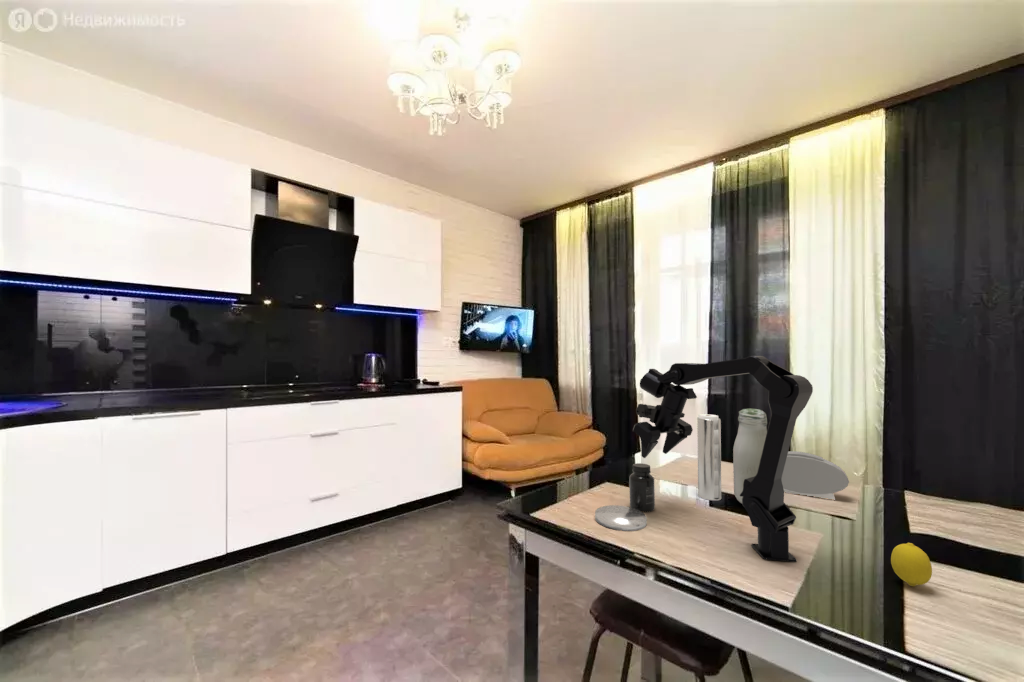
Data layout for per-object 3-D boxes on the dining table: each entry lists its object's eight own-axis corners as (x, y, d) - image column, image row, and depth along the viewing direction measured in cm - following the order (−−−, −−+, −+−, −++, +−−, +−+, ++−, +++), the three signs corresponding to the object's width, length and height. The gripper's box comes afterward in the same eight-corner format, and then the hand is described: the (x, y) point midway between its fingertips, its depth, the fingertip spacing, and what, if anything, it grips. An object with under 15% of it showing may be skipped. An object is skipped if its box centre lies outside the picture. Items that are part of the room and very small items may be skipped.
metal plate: (650, 532, 99) (650, 526, 99) (596, 528, 101) (596, 522, 101) (642, 512, 111) (642, 506, 111) (594, 509, 113) (594, 503, 114)
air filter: (699, 499, 122) (698, 415, 123) (696, 492, 128) (695, 413, 129) (723, 501, 120) (722, 417, 121) (719, 494, 126) (718, 414, 127)
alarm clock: (846, 497, 125) (845, 455, 125) (849, 503, 119) (848, 460, 120) (758, 484, 137) (758, 446, 138) (757, 488, 132) (757, 449, 133)
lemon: (910, 578, 79) (909, 536, 80) (941, 594, 74) (940, 549, 74) (883, 578, 79) (882, 536, 79) (912, 595, 74) (911, 550, 74)
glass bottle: (734, 508, 115) (732, 409, 116) (733, 497, 124) (732, 405, 125) (775, 515, 110) (773, 411, 111) (771, 503, 119) (770, 407, 120)
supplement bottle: (651, 504, 118) (651, 462, 118) (657, 513, 111) (657, 469, 112) (627, 503, 119) (627, 461, 119) (631, 512, 112) (631, 468, 112)
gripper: (669, 391, 122) (653, 436, 126) (627, 394, 112) (611, 442, 116) (701, 409, 113) (683, 457, 117) (659, 414, 103) (640, 466, 107)
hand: (654, 455), depth 115 cm, fingers open, 9 cm apart
